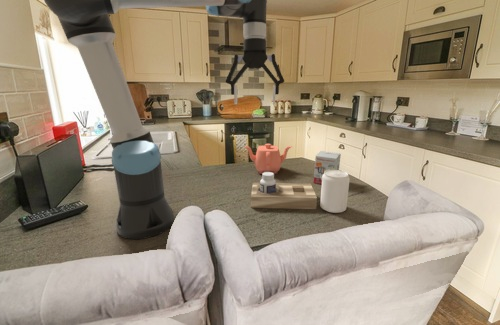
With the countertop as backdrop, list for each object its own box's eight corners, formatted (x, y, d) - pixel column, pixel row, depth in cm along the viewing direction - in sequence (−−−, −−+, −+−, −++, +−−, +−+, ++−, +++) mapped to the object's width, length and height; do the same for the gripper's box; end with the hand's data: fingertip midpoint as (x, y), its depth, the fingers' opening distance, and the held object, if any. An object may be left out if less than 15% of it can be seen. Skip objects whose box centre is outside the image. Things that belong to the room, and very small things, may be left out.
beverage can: (326, 200, 88) (328, 167, 84) (349, 207, 83) (353, 172, 79) (315, 209, 82) (318, 174, 78) (340, 217, 77) (344, 179, 73)
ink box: (312, 183, 103) (314, 155, 100) (317, 176, 111) (319, 150, 107) (334, 186, 99) (337, 157, 96) (338, 179, 107) (341, 152, 103)
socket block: (316, 209, 82) (317, 197, 80) (250, 207, 83) (250, 196, 82) (310, 193, 93) (310, 183, 92) (252, 192, 94) (252, 182, 93)
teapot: (291, 170, 118) (292, 144, 114) (265, 179, 108) (265, 150, 105) (269, 163, 129) (270, 139, 126) (243, 170, 119) (243, 144, 116)
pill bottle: (277, 198, 90) (278, 172, 87) (272, 204, 85) (273, 177, 82) (263, 195, 92) (263, 170, 89) (257, 202, 87) (257, 175, 84)
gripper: (291, 40, 87) (289, 103, 94) (219, 41, 89) (222, 103, 95) (293, 36, 80) (291, 104, 86) (215, 37, 82) (218, 105, 88)
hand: (254, 104), depth 91 cm, fingers open, 13 cm apart
